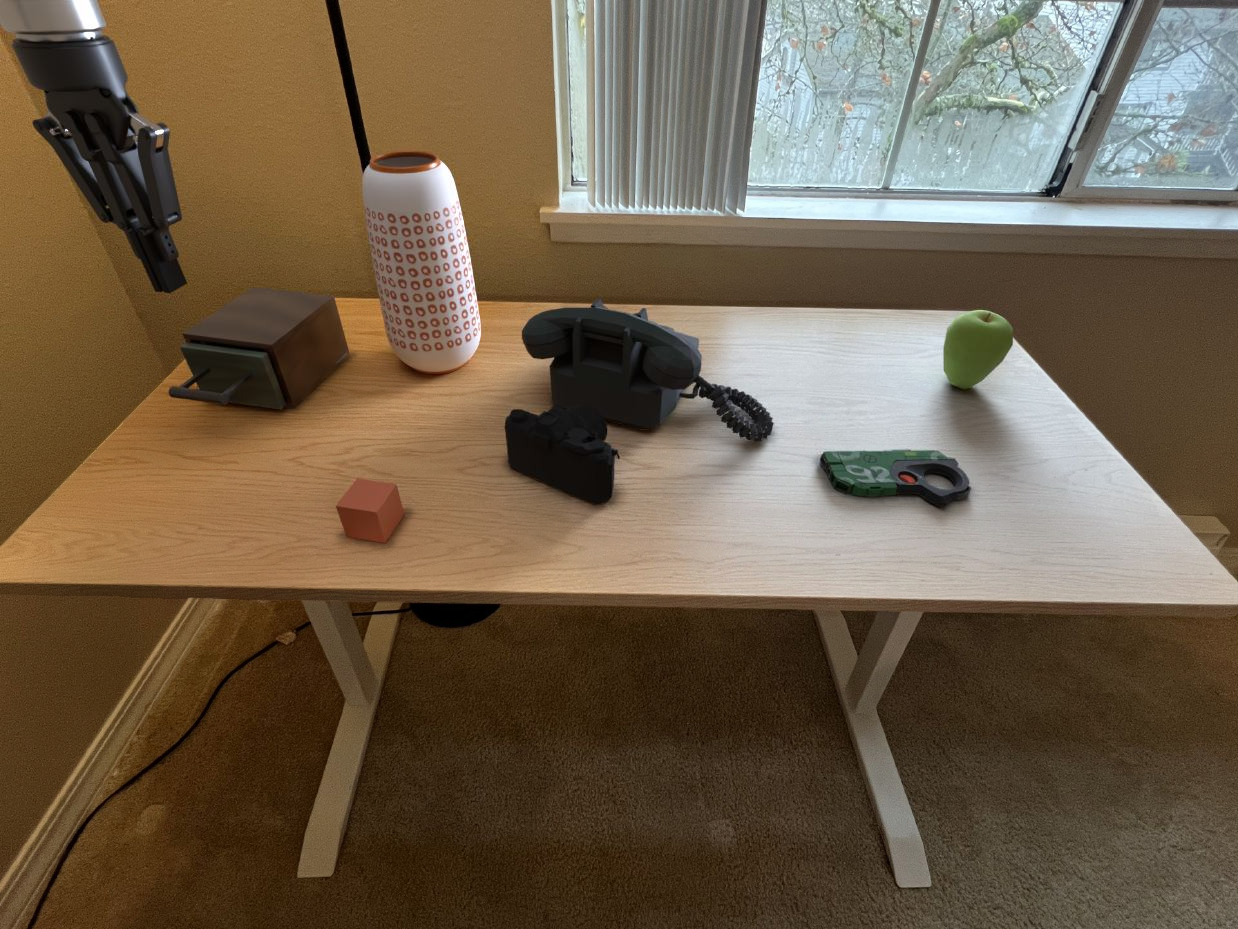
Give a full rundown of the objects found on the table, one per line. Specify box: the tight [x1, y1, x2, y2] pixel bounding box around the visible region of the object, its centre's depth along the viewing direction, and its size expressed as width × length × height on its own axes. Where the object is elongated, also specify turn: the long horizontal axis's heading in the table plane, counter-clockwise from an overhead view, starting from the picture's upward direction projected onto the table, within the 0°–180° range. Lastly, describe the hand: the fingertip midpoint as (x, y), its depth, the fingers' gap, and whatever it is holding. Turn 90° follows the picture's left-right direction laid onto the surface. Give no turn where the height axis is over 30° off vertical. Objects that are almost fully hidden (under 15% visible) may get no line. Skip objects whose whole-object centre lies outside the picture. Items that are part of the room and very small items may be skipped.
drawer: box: [167, 341, 286, 410], centre depth 85 cm, size 20×11×8 cm, turn 169°
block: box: [335, 477, 405, 544], centre depth 68 cm, size 4×4×4 cm
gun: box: [819, 449, 972, 508], centre depth 77 cm, size 16×1×10 cm
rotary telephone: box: [521, 298, 775, 442], centre depth 86 cm, size 33×22×15 cm, turn 69°
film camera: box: [503, 404, 621, 505], centre depth 75 cm, size 15×10×9 cm, turn 58°
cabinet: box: [181, 286, 351, 409], centre depth 89 cm, size 15×13×10 cm
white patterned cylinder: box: [361, 150, 482, 375], centre depth 88 cm, size 13×13×28 cm
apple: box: [942, 309, 1014, 390], centre depth 91 cm, size 9×8×12 cm
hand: (171, 287), depth 72 cm, fingers closed
